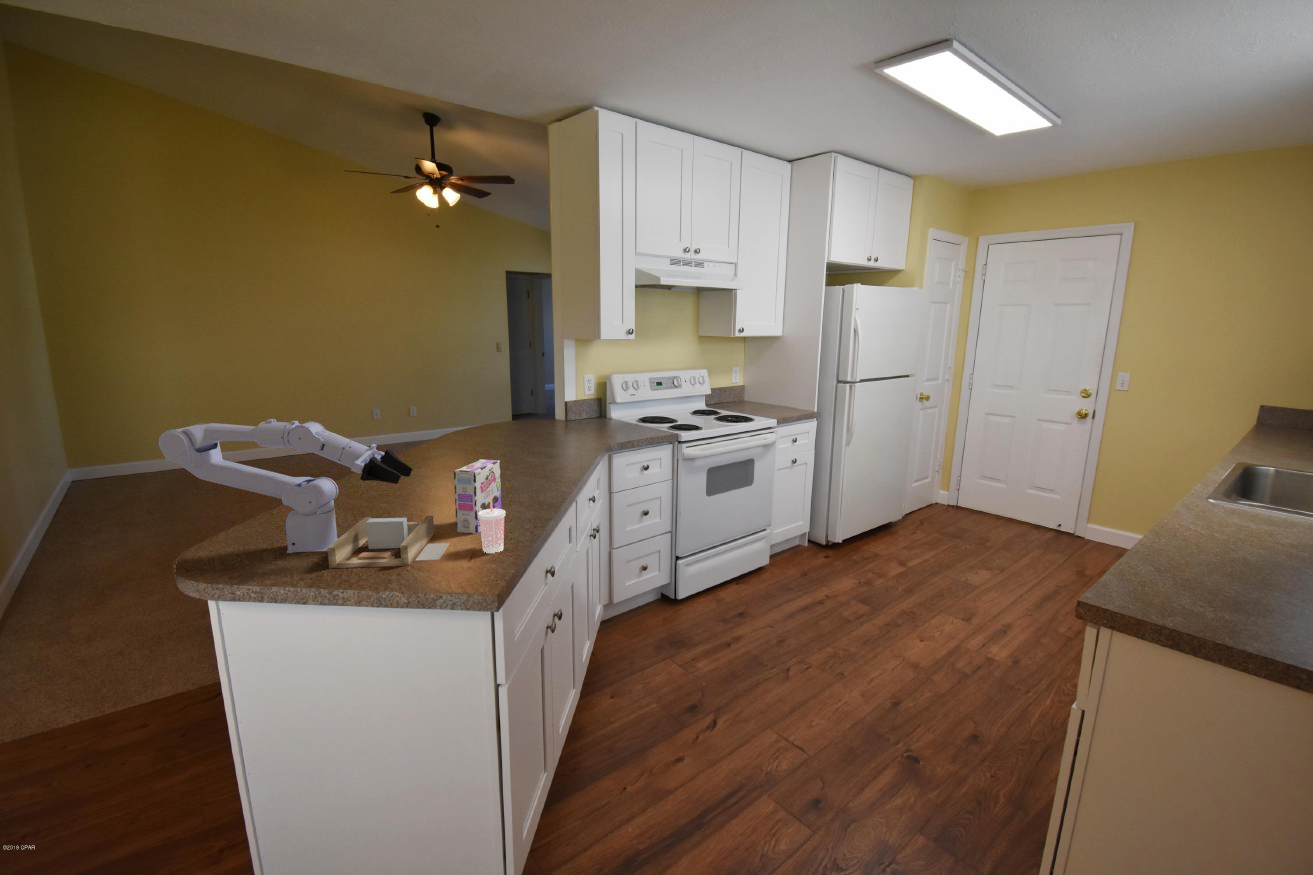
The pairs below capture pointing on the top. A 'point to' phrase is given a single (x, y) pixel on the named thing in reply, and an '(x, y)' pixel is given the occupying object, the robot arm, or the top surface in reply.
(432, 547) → the mat
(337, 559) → the rack
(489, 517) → the beverage cup
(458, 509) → the candy box
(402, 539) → the panel
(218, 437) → the robot arm
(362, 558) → the offcut short
